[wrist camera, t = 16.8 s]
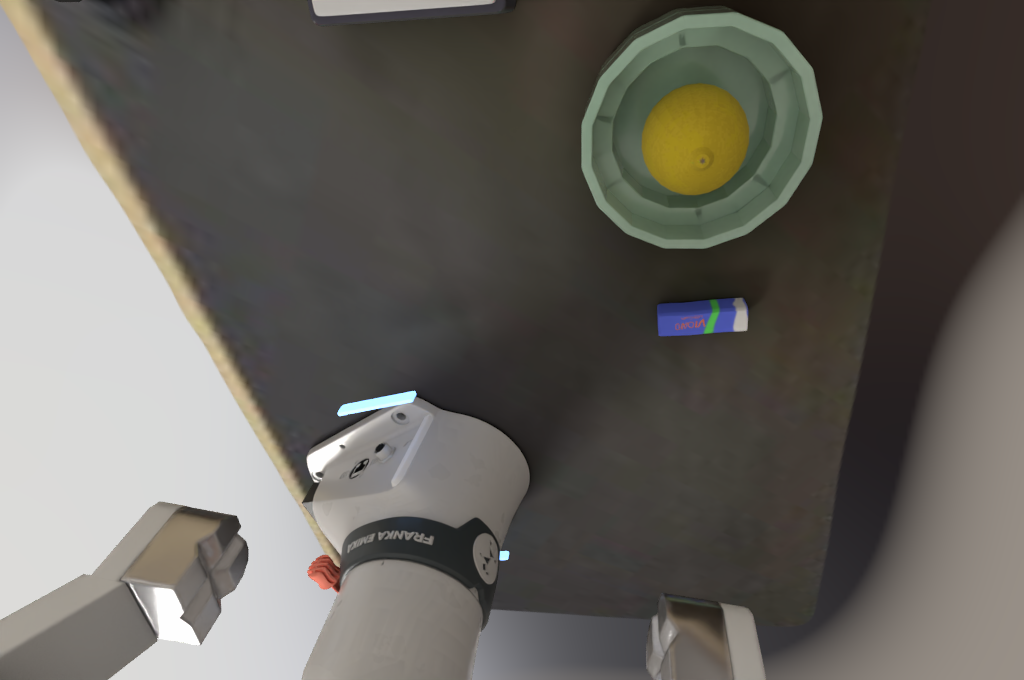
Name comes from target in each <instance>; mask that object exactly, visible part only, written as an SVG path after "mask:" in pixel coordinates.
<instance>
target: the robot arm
mask: <svg viewBox="0 0 1024 680" xmlns="http://www.w3.org/2000/svg"><path fill="white" fill-rule="evenodd" d="M415 396H416V392H415V391H411V392H406V393H401V394H396V395H391V396H386V397H381V398H376V399H371V400H365V401H360V402H355V403H350V404H345V405H342V406H341V408H340V410H339V411H338V415H339V416H342V415H347V414H352V413H357V412H363V411H368V410H373V409H379V408H383V409H381V410H379V411H377V412H375V413H374V414H372V415H370V416H368V417H366V418H365V419H363V420H361V421H359V422H357V423H356V424H354V425H352V426H350V427H348V428H347V429H345V430H343V431H341V432H339V433H338V434H336V435H334V436H332V437H331V438H329V439H327V440H325V441H323V442H322V443H320V444H318V445H316V446H315V447H313V448H312V449H310V451H309V453H308V455H307V465H308V469H309V472H310V474H311V476H312V478H313V480H314V482H315V483H313V485H312V487H311V488H310V490H309V492H308V493H307V495H306V497H305V498H304V500H303V502H302V504H303V505H304V506H305V508H306V509H307V510H308V512H309V513H310V514H311V516H312V517H313V518H314V520H315V521H316V522H317V524H318V525H319V527H320V529H321V530H322V532H323V533H324V535H325V536H326V537H327V538H328V540H329V541H330V542H331V544H332V545H333V546H334V547H335V549H336V550H337V551H338V552H339V554H340V555H341V563H340V568H339V567H337V566H336V565H335V564H334V563H333V561H332V559H331V558H330V557H329V556H328V555H322V556H320V557H318V558H317V559H316V560H315V561H313V562H312V563H311V564H312V565H311V566H310V567H309V569H310V570H308V572H307V573H308V576H309V577H310V578H311V579H312V580H314V581H315V582H317V583H318V584H319V586H320V588H321V589H329V588H331V587H332V588H333V589H334V590H335V591H336V592H337V593H338V595H337V597H336V599H335V602H334V604H333V606H332V609H331V610H330V613H329V615H328V617H327V620H326V622H325V624H324V626H323V628H322V631H321V633H320V635H319V637H318V640H317V642H316V644H315V647H314V649H313V651H312V653H311V655H310V658H309V660H308V662H307V664H306V667H305V669H304V672H303V676H302V680H472V675H473V668H474V663H475V657H476V651H477V646H478V641H479V636H480V632H481V631H482V630H483V629H484V628H485V626H486V624H487V622H488V619H489V615H490V611H491V606H492V602H493V598H494V593H495V588H496V584H497V578H498V571H499V561H500V560H508V556H509V552H508V551H500V550H501V547H502V544H503V542H504V539H505V536H506V534H507V531H508V528H509V526H510V524H511V521H512V519H513V517H514V514H515V512H516V510H517V508H518V506H519V505H520V503H521V501H522V499H523V498H524V496H525V494H526V492H527V490H528V487H529V482H530V473H529V468H528V465H527V462H526V460H525V457H524V456H523V454H522V452H521V451H520V449H519V448H518V447H517V446H516V445H515V443H514V442H513V441H512V440H511V439H510V438H508V437H507V436H506V435H505V434H504V433H502V432H501V431H499V430H498V429H496V428H495V427H493V426H491V425H489V424H488V423H486V422H483V421H481V420H479V419H476V418H473V417H470V416H467V415H463V414H458V413H453V412H449V411H445V410H442V409H439V408H437V407H436V406H434V405H432V404H430V403H428V402H427V401H425V400H422V399H420V398H418V397H415ZM401 413H403V414H404V415H403V414H401ZM240 528H241V525H240V523H239V520H238V518H237V516H234V515H229V514H224V513H218V512H213V511H207V510H202V509H196V508H191V507H187V506H183V505H177V504H171V503H165V502H158V503H157V504H155V505H153V506H152V507H150V508H149V509H148V510H147V511H146V513H145V514H144V515H143V516H142V517H141V519H140V520H139V521H138V522H137V523H136V524H135V525H134V526H133V528H132V529H131V530H130V531H129V532H128V533H127V534H126V536H125V537H124V538H123V539H122V540H121V541H120V543H119V544H118V545H117V546H116V547H115V548H114V550H113V551H112V552H111V553H110V554H109V555H108V556H107V558H106V559H105V560H104V561H103V562H102V563H101V565H100V566H99V567H98V568H97V569H96V570H95V572H94V573H93V574H92V575H85V574H83V575H81V576H80V577H78V578H76V579H74V580H72V581H71V582H69V583H67V584H65V585H63V586H61V587H60V588H58V589H56V590H54V591H52V592H51V593H49V594H47V595H45V596H43V597H42V598H40V599H38V600H36V601H34V602H32V603H31V604H29V605H27V606H25V607H23V608H21V609H20V610H18V611H16V612H14V613H12V614H11V615H9V616H7V617H5V618H3V619H2V620H0V680H108V679H109V678H110V677H112V676H113V675H114V674H115V673H117V672H118V671H119V670H121V669H122V668H123V667H125V666H126V665H127V664H128V663H130V662H131V661H132V660H134V659H135V658H136V657H137V656H139V655H140V654H141V653H143V652H144V651H145V650H146V649H148V648H149V647H150V646H152V645H153V644H154V643H155V642H157V638H161V639H166V640H172V641H178V642H183V643H189V644H195V645H201V644H202V642H203V641H204V639H205V637H206V636H207V634H208V632H209V631H210V629H211V627H212V626H213V624H214V623H215V621H216V619H217V618H218V616H219V615H220V613H221V598H223V597H224V596H226V595H227V594H229V593H230V592H232V591H233V590H235V588H236V587H237V585H238V583H239V582H240V580H241V578H242V577H243V574H244V571H245V568H246V565H247V562H248V546H247V543H246V541H245V540H244V539H243V538H242V537H241V536H240V535H238V534H237V532H238V531H239V529H240ZM657 609H658V614H657V615H655V616H653V617H652V619H651V622H650V625H649V630H648V636H647V648H646V664H647V665H646V666H647V671H648V673H649V675H650V676H651V678H652V680H766V676H765V671H764V666H763V661H762V656H761V651H760V646H759V641H758V636H757V631H756V627H755V622H754V617H753V615H752V613H751V611H750V609H748V608H746V607H741V606H735V605H730V604H724V603H718V602H716V601H710V600H704V599H698V598H691V597H685V596H679V595H673V594H667V593H663V594H661V595H660V597H659V600H658V602H657Z"/></svg>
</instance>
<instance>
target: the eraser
mask: <svg viewBox="0 0 1024 680" xmlns="http://www.w3.org/2000/svg"><path fill="white" fill-rule="evenodd" d="M657 319H658V333H659V336H680V335H696V334H706V333H716V332H733V331H746V330H747V325H748V306H747V304H746V302H745V300H744V298H727V299H713V300H704V301H695V302H685V303H663V304H658V305H657Z"/></svg>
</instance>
